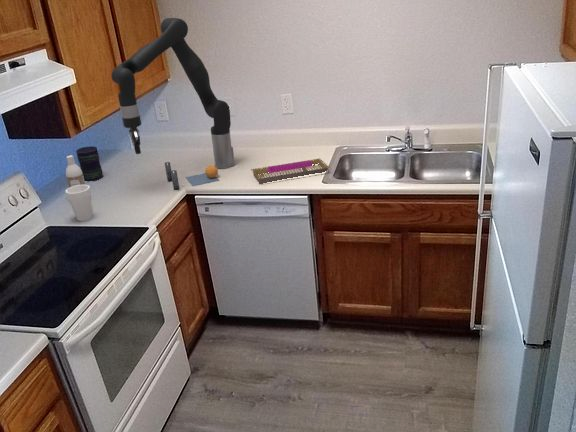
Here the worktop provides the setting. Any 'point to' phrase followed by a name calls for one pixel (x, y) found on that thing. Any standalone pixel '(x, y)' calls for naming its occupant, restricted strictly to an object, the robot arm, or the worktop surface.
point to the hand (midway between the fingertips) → (138, 153)
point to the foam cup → (80, 201)
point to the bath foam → (74, 173)
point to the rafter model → (288, 167)
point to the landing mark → (200, 179)
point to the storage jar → (89, 163)
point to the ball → (211, 171)
